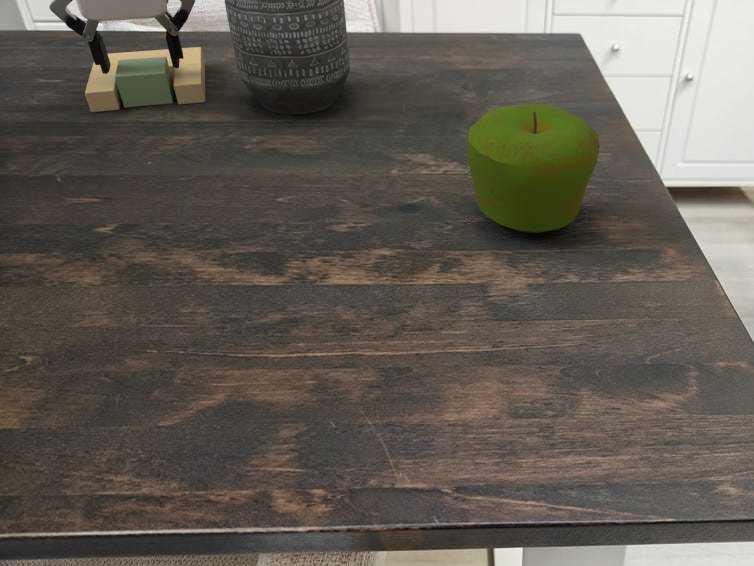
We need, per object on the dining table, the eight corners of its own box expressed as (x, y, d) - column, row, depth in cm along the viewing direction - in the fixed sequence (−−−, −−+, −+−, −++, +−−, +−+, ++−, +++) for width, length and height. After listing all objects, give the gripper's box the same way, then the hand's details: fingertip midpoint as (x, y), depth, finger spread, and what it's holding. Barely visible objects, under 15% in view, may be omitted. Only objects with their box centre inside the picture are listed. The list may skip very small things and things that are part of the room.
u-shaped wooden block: (91, 112, 95) (84, 93, 93) (101, 72, 105) (95, 54, 103) (205, 102, 98) (201, 83, 96) (204, 64, 108) (201, 46, 106)
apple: (448, 232, 75) (446, 124, 67) (495, 179, 83) (499, 78, 76) (565, 262, 71) (577, 152, 64) (603, 204, 80) (618, 101, 72)
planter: (227, 94, 100) (201, -28, 90) (322, 72, 106) (308, -44, 96) (273, 132, 91) (250, 2, 81) (373, 105, 98) (363, -18, 88)
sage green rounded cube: (124, 107, 96) (114, 76, 93) (127, 90, 100) (118, 59, 98) (173, 103, 97) (165, 72, 94) (174, 86, 101) (166, 56, 99)
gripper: (179, -98, 89) (211, 52, 101) (20, -93, 85) (73, 62, 97) (178, -84, 84) (212, 72, 95) (8, -78, 80) (65, 84, 92)
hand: (142, 66), depth 96 cm, fingers open, 8 cm apart
